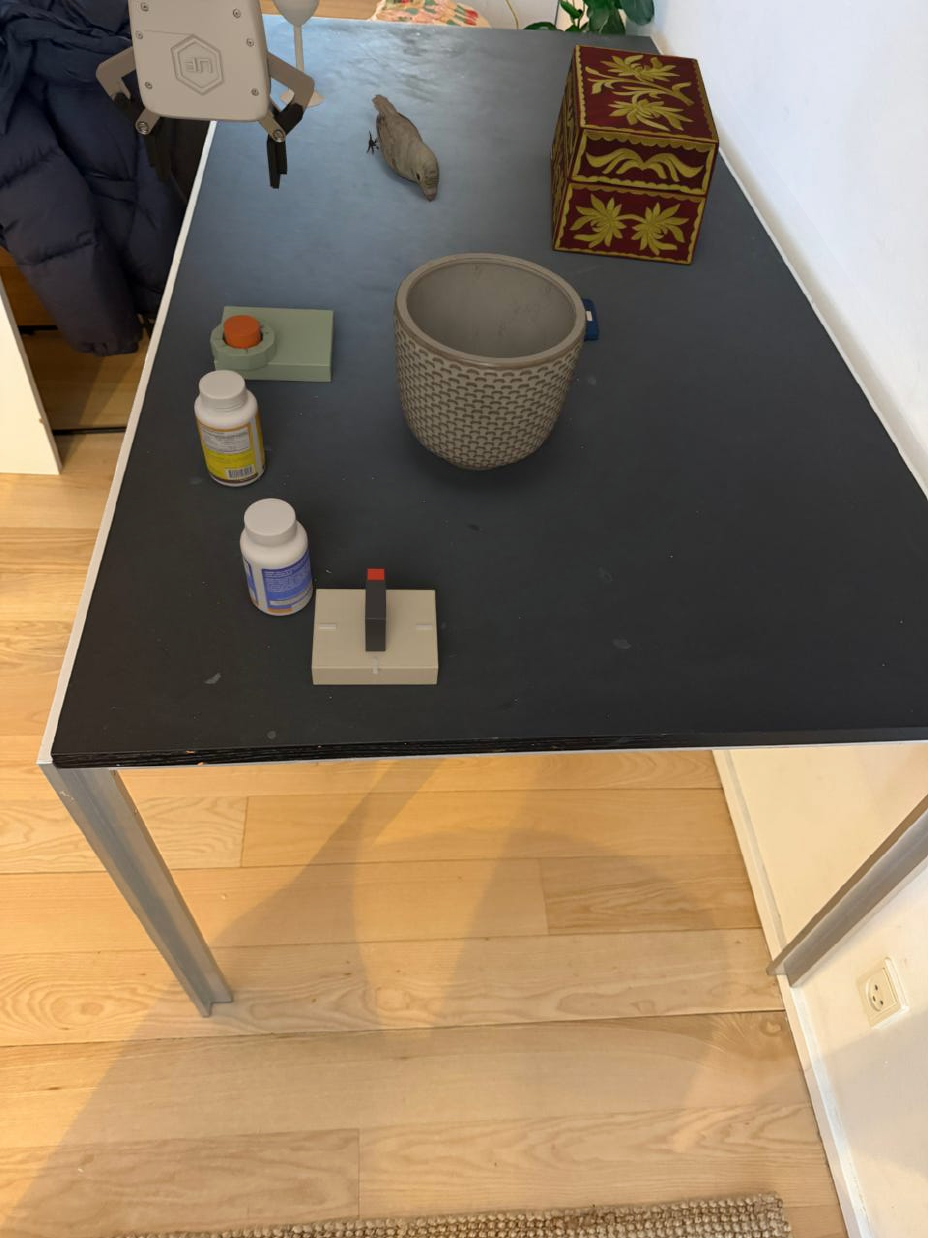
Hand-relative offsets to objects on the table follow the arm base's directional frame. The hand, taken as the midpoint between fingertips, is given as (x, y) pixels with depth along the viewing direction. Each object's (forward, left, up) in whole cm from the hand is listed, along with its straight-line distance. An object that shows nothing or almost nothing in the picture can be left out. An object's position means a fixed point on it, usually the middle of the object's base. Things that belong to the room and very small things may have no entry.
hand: (221, 177), depth 77 cm
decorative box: (+47, +39, -21) cm, 65 cm away
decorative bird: (+17, +45, -21) cm, 52 cm away
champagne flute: (+2, +67, -21) cm, 70 cm away
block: (+3, +3, -20) cm, 21 cm away
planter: (+24, -11, -21) cm, 33 cm away
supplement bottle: (0, -16, -21) cm, 26 cm away
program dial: (+14, -36, -18) cm, 43 cm away
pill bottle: (+6, -31, -21) cm, 38 cm away
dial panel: (+14, -36, -20) cm, 44 cm away
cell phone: (+33, +11, -20) cm, 40 cm away
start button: (0, 0, -17) cm, 17 cm away
